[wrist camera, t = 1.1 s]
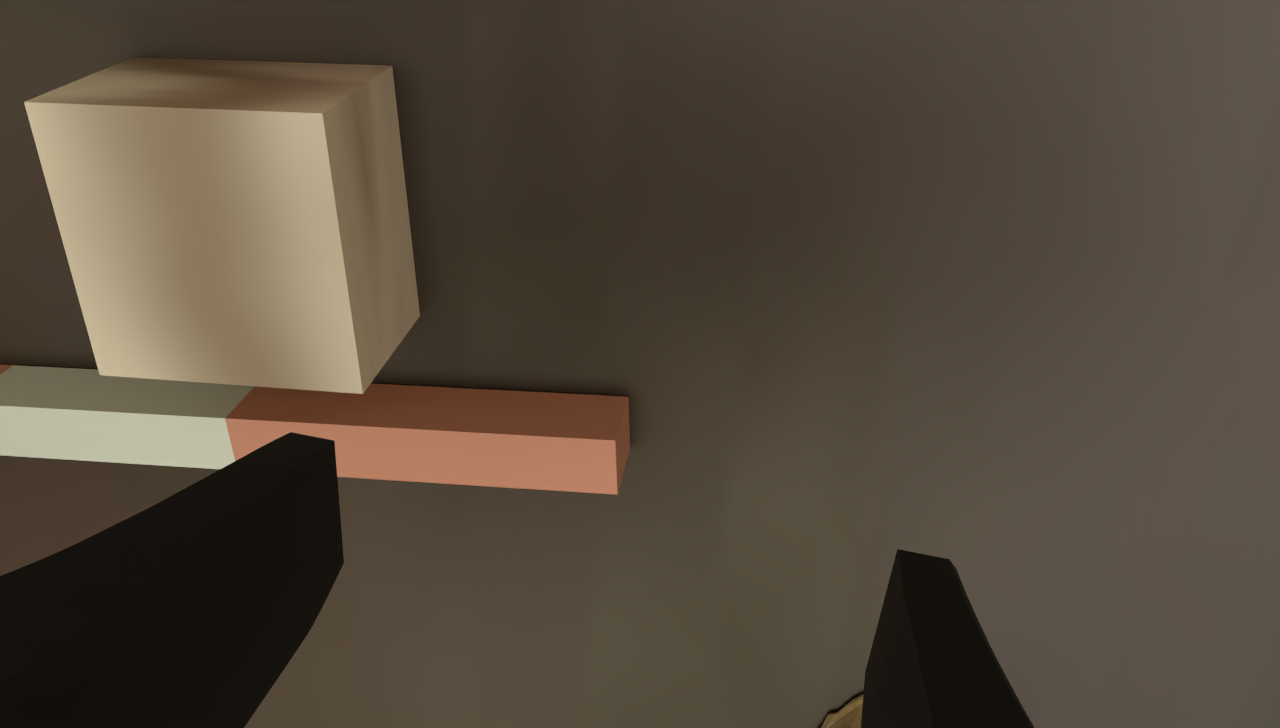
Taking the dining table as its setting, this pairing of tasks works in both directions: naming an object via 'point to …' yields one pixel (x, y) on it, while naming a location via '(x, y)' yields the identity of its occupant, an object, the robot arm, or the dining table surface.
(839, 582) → the dining table surface
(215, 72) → the maple block
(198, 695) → the robot arm
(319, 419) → the pink-beige flat slab
